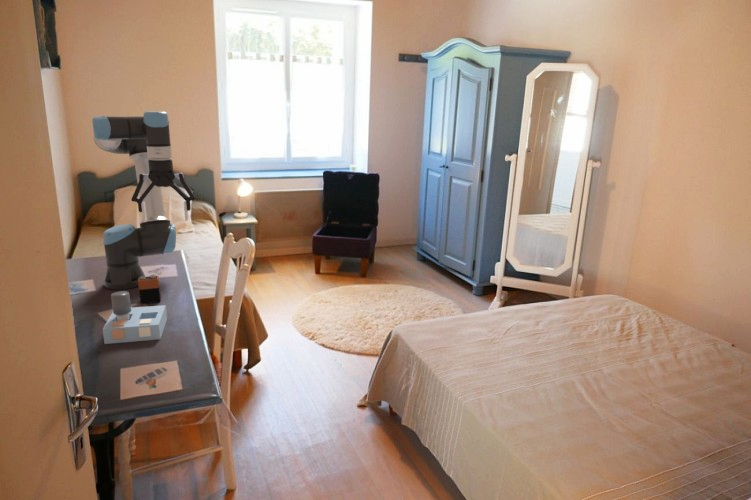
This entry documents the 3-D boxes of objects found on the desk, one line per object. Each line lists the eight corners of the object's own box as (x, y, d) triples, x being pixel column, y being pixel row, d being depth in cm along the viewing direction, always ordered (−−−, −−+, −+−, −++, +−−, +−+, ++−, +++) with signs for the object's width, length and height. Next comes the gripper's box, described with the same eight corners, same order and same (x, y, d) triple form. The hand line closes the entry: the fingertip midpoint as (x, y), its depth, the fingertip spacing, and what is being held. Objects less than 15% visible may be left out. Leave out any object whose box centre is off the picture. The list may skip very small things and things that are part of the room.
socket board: (116, 322, 174) (114, 307, 172) (167, 318, 177) (165, 304, 176) (104, 344, 158) (101, 328, 157) (160, 339, 162) (158, 324, 161)
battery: (160, 302, 192) (157, 276, 189) (140, 304, 189) (137, 278, 186) (160, 298, 195) (158, 273, 193) (141, 300, 193) (138, 274, 190)
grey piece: (117, 326, 169) (113, 291, 165) (134, 324, 170) (130, 290, 167) (113, 333, 164) (109, 297, 161) (131, 331, 165) (127, 296, 162)
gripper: (117, 160, 167) (125, 224, 173) (198, 159, 173) (203, 221, 179) (122, 158, 174) (129, 219, 180) (199, 157, 180) (204, 216, 186)
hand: (166, 220), depth 180 cm, fingers open, 13 cm apart
